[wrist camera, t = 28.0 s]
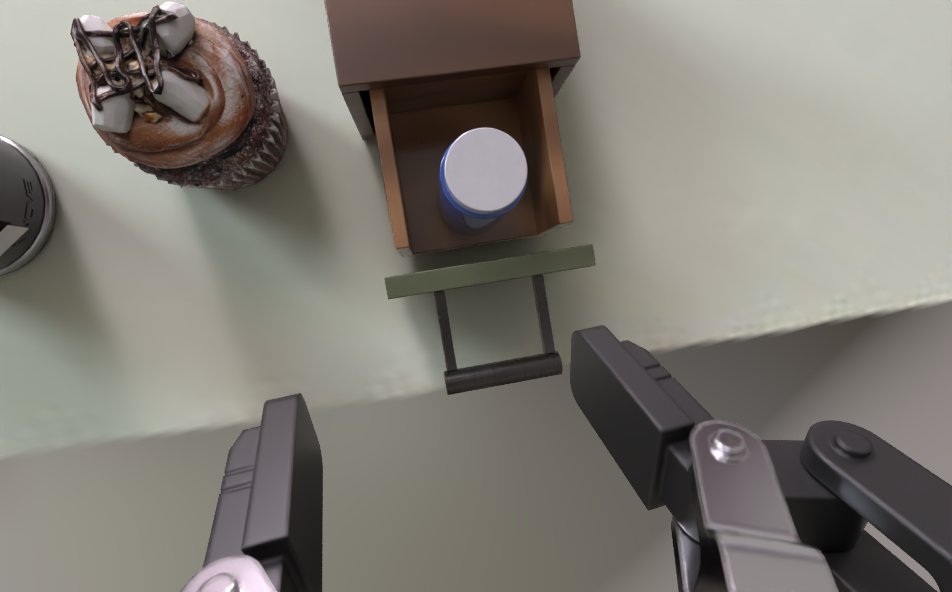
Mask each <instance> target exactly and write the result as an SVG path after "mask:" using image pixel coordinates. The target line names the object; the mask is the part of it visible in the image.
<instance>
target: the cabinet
mask: <svg viewBox="0 0 952 592" xmlns="http://www.w3.org/2000/svg"><path fill="white" fill-rule="evenodd" d="M324 3H325V9H326V15H327V21H328V27H329V32H330V38H331V44H332V50H333V56H334V62H335V68H336V74H337V80H338V86H339V88H340V90H341V92H342V95H343V97H344V100H345V102H346V104H347V106H348V108H349V111H350V113H351V115H352V117H353V120H354V122H355V124H356V126H357V128H358V131H359V133H360V135H361V137H362V139H363V140H365V139H373V138H377V137H376V131H375V125H374V119H373V113H372V107H371V101H370V95H369V90H372V89H380V88H388V87H397V86H405V85H413V84H421V83H429V82H437V81H446V80H454V79H462V78H470V77H478V76H486V75H495V74H503V73H511V72H519V71H527V70H535V69H543V68H549V69H550V76H551V82H552V88H553V95H554V97H555V96H556V94H557V93H558V91H559V90H560V88H561V87H562V85H563V84H564V82H565V80H566V79H567V77H568V76H569V74H570V73H571V71H572V70H573V68H574V67H575V64H576V63H577V62H578V60H579V59H580V50H579V43H578V37H577V30H576V24H575V17H574V11H573V4H572V0H324Z"/></svg>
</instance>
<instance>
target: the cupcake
mask: <svg viewBox="0 0 952 592" xmlns="http://www.w3.org/2000/svg"><path fill="white" fill-rule="evenodd" d="M70 34H71V36H72V39H73V41H74V46H75V47H76V49H77V52H78V56H79V61H78V66H77V72H76V82H77V86H78V91H79V95H80V98H81V101H82V103H83V105H84V108H85V110H86V112H87V115H88V117H89V119H90V121H91V123H92V125H93V127H94V129H95V130H96V131H97V133H98V134H99V136H100V137H101V138H102V139H103V140H104V141H105V143H106V145H108V146H111V147H112V149H113V151H114V153H120V154H121V155H122V156H123V157H126V158H127V159H128V160H129V161H132V162H134V165H135V166H136V167H139V168H140V169H141V170H142V171H144V172H146V173H148V174H153V175H156V177H157V179H158V180H164V181H168V184H174V185H180V187H181V188H186V187H198V188H212V189H230V190H236V189H237V188H239V187H246V186H249V185H253V184H256V183H257V182H259V181H261V180H262V179H263V178H264V177H266V176H267V175H268V174H269V173H271V172H272V171H273V170H274V169H275V167H276V165H277V164H278V162H279V161H280V159H281V158H282V156H283V152H284V150H285V148H286V134H287V124H286V120H285V116H284V113H283V110H282V107H281V104H280V100H279V97H278V93H277V89H276V85H275V80H274V79H273V77H271V72H270V70H269V68H266V65H265V62H264V60H261V59H259V57H258V54H257V50H255V49H251V47H250V45H249V43H248V41H246V42H241V41H240V39H239V36H238V33H234V34H233V35H232V34H230V33H229V31H228V30H227V28H226V27H225V26H224V27H223V28H221V27H219V26H217V25H216V23H215V22H214V23H213V24H212V23H210V22H208V21H205V20H203V19H199V18H195V17H193V15H192V14H191V12H190V11H189V10H188V8H187V7H186V6H184V5H182V4H180V3H174V2H166V3H164V4H163V5H162V6H161V7H159V6H158V5H157V6H155V7H153V9H152V11H151V12H136V13H133V14H129V15H125V16H122V17H118V18H115V19H113V20H111V21H109V22H108V23H106V22H104V21H103V20H102V19H101V18H99V17H97V16H82V18H81V19H80V20H79V19H76V18H74V20H73V23H72V28H71V33H70Z"/></svg>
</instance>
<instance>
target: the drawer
mask: <svg viewBox="0 0 952 592" xmlns="http://www.w3.org/2000/svg"><path fill="white" fill-rule="evenodd" d="M369 95H370V101H371V107H372V113H373V119H374V125H375V131H376V137H377V143H378V149H379V155H380V161H381V166H382V172H383V178H384V184H385V190H386V196H387V202H388V208H389V214H390V220H391V226H392V232H393V238H394V244H395V248H396V250H397V251H398V252H399V253H400V254H401V256H402V257H405V256H411V255H417V254H424V253H430V252H437V251H443V250H450V249H456V248H462V247H469V246H475V245H482V244H488V243H495V242H501V241H507V240H514V239H520V238H527V237H533V236H540V235H546V234H548V233H550V232H552V231H554V230H557V229H559V228H561V227H563V226H565V225H567V224H569V223H572V222H573V217H572V211H571V204H570V198H569V191H568V185H567V179H566V172H565V166H564V159H563V153H562V146H561V140H560V133H559V127H558V121H557V114H556V108H555V101H554V95H553V88H552V82H551V76H550V69H549V68H543V69H535V70H527V71H519V72H511V73H503V74H495V75H486V76H478V77H470V78H462V79H454V80H446V81H437V82H429V83H421V84H413V85H405V86H397V87H388V88H380V89H372V90H369ZM477 128H494V129H497V130H500V131H502V132H505V133H506V134H508V135H509V136H511V137H512V138H513V139H514V140H515V141H516V142H517V143H518V144H519V146H520V147H521V149H522V150H523V152H524V155H525V157H526V161H527V168H528V173H527V185H526V189H525V191H524V194H523V196H522V198H521V199H520V201H519V202H518V203H517V205H516V206H515V207H514V208H513V209H512V210H511V211H510V212H509V213H508V214H506V215H505V216H504V217H503V218H502V219H501V220H500V221H499V222H498V223H497V224H496V225H495V226H494V227H493V228H492V229H490V230H489V231H487V232H486V233H483V234H481V235H477V236H465V235H461V234H458V233H456V232H454V231H453V230H451V229H450V228H449V227H448V226H447V225H446V224H445V223H444V222H443V220H442V218H441V217H440V214H439V211H438V206H437V197H438V185H439V174H440V165H441V161H442V158H443V156H444V154H445V152H446V150H447V149H448V147H449V146H450V145H451V144H452V143H453V142H454V141H455V140H456V139H457V138H458V137H460V136H461V135H462V134H464V133H466V132H468V131H470V130H473V129H477ZM595 265H596V264H595V258H594V251H593V245H592V244H591V245H584V246H578V247H572V248H566V249H559V250H553V251H547V252H540V253H534V254H528V255H521V256H515V257H509V258H503V259H496V260H490V261H484V262H477V263H471V264H465V265H459V266H452V267H446V268H440V269H433V270H427V271H421V272H414V273H408V274H402V275H396V276H389V277H385V284H386V290H387V296H388V299H393V298H400V297H406V296H412V295H418V294H424V293H430V292H434V295H435V301H436V307H437V314H438V320H439V326H440V332H441V338H442V344H443V350H444V356H445V362H446V368H447V371H444V376H445V383H446V389H447V394H448V395H450V394H455V393H461V392H466V391H472V390H477V389H483V388H488V387H493V386H499V385H504V384H510V383H515V382H521V381H526V380H532V379H536V378H542V377H548V376H553V375H559V374H562V362H561V358H560V355H559V353H558V352H557V351H555V348H554V342H553V335H552V329H551V323H550V316H549V310H548V304H547V297H546V291H545V285H544V278H543V274H547V273H553V272H559V271H565V270H571V269H577V268H583V267H590V266H595ZM528 276H532V283H533V289H534V295H535V302H536V308H537V314H538V321H539V327H540V333H541V339H542V346H543V352H544V354H538V355H533V356H527V357H522V358H516V359H510V360H505V361H499V362H494V363H488V364H483V365H477V366H471V367H466V368H460V369H457V366H456V360H455V354H454V348H453V342H452V335H451V329H450V323H449V317H448V311H447V305H446V299H445V293H444V290H449V289H455V288H461V287H467V286H473V285H479V284H485V283H492V282H498V281H504V280H510V279H516V278H522V277H528Z"/></svg>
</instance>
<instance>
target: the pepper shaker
mask: <svg viewBox="0 0 952 592" xmlns="http://www.w3.org/2000/svg"><path fill="white" fill-rule="evenodd" d="M527 173H528V168H527V161H526V157H525V155H524V152H523V150H522V149H521V147H520V146H519V144H518V143H517V142H516V141H515V140H514V139H513V138H512V137H511V136H509V135H508V134H506V133H505V132H502V131H500V130H497V129H494V128H477V129H473V130H470V131H468V132H466V133H464V134H462V135H461V136H460V137H458V138H457V139H456V140H455V141H454V142H453V143H452V144H451V145H450V146H449V147H448V149H447V150H446V152H445V154H444V156H443V158H442V161H441V165H440V174H439V185H438V197H437V206H438V211H439V214H440V217H441V218H442V220H443V222H444V223H445V224H446V225H447V226H448V227H449V228H450V229H451V230H453V231H454V232H456V233H458V234H461V235H465V236H477V235H481V234H483V233H486V232H487V231H489V230H490V229H492V228H493V227H494V226H495V225H496V224H497V223H498V222H499V221H500V220H501V219H502V218H503V217H504V216H505V215H506V214H508V213H509V212H510V211H511V210H512V209H513V208H514V207H515V206H516V205H517V203H518V202H519V201H520V199H521V198H522V196H523V194H524V191H525V189H526V185H527Z"/></svg>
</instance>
